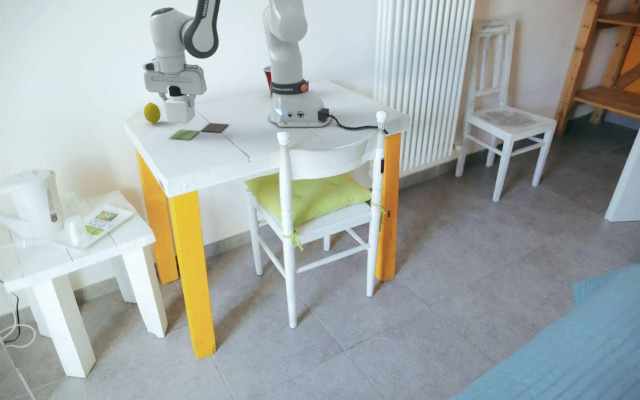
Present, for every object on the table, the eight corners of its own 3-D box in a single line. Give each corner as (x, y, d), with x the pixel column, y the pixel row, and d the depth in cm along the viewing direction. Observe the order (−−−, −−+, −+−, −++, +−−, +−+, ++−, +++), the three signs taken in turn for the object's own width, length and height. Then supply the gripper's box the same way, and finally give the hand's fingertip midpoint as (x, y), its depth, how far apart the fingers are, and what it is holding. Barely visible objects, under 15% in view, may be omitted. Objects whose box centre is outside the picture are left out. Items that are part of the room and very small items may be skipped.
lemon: (165, 123, 168) (160, 102, 164) (151, 127, 165) (146, 106, 161) (157, 119, 171) (153, 98, 167) (143, 124, 168) (138, 102, 164)
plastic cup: (279, 89, 199) (277, 61, 193) (296, 95, 193) (294, 66, 186) (259, 96, 192) (256, 67, 186) (276, 101, 186) (274, 71, 180)
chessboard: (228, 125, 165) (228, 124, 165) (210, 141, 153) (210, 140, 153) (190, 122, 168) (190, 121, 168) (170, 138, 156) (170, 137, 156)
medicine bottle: (195, 116, 158) (190, 81, 152) (188, 123, 152) (182, 87, 146) (175, 115, 159) (169, 80, 152) (167, 122, 152) (160, 87, 146)
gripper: (206, 62, 146) (212, 104, 153) (148, 59, 150) (157, 101, 157) (197, 67, 141) (204, 111, 148) (137, 64, 145) (147, 107, 152)
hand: (179, 105), depth 153 cm, fingers closed on medicine bottle, 7 cm apart
